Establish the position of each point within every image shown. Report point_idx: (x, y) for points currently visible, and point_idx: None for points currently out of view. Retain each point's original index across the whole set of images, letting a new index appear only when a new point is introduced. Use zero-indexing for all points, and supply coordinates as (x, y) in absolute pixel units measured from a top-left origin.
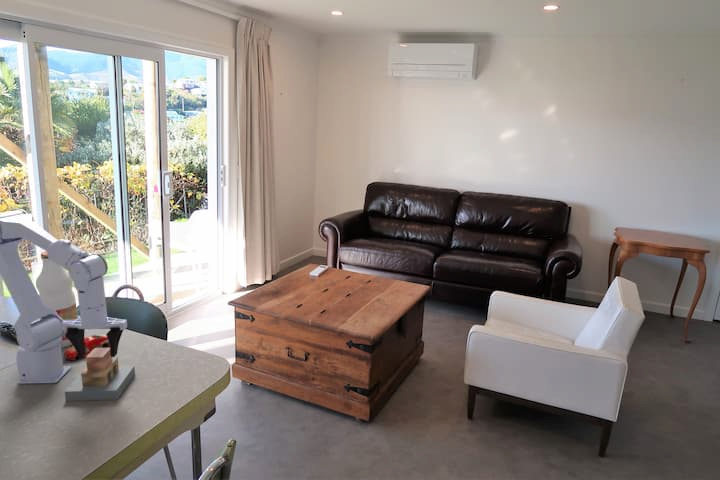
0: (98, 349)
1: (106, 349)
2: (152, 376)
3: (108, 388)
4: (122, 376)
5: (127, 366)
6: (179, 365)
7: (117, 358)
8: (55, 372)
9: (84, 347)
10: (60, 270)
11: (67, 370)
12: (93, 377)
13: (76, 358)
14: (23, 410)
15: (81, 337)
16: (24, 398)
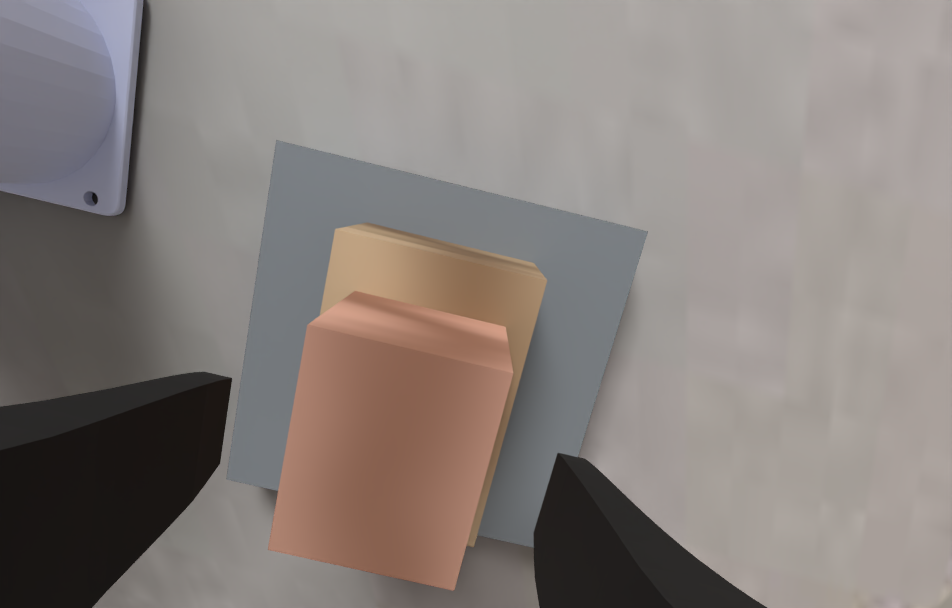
0: (366, 387)
1: (464, 408)
2: (740, 290)
3: (495, 513)
4: (570, 380)
5: (595, 227)
6: (941, 173)
7: (545, 284)
8: (58, 151)
9: (179, 414)
10: None
11: (134, 50)
12: None
13: None
14: None
15: (8, 563)
16: (8, 353)
